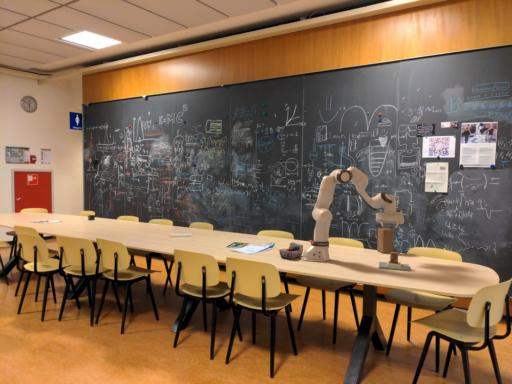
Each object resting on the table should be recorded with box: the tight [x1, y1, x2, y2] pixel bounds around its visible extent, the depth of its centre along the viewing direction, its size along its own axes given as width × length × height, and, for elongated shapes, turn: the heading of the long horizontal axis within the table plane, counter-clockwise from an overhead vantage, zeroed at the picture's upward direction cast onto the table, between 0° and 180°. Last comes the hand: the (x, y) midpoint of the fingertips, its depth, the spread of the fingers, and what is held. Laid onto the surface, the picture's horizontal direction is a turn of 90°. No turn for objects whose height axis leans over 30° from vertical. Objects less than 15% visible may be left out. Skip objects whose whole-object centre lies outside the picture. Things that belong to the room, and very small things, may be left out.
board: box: [378, 260, 411, 272], centre depth 268 cm, size 20×16×3 cm
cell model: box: [278, 241, 304, 260], centre depth 294 cm, size 13×11×20 cm
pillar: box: [389, 251, 399, 264], centre depth 268 cm, size 5×5×9 cm
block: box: [376, 227, 395, 254], centre depth 321 cm, size 10×10×20 cm
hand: (389, 226), depth 284 cm, fingers open, 8 cm apart
